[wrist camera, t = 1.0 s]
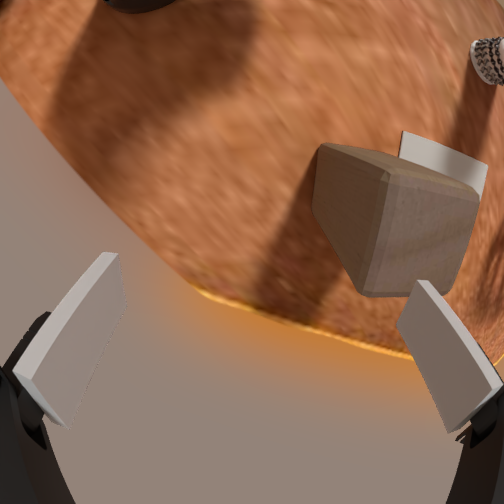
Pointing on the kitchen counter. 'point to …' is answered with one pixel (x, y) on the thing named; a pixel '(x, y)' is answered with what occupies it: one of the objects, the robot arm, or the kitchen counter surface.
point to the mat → (443, 160)
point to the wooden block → (392, 219)
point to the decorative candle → (489, 59)
